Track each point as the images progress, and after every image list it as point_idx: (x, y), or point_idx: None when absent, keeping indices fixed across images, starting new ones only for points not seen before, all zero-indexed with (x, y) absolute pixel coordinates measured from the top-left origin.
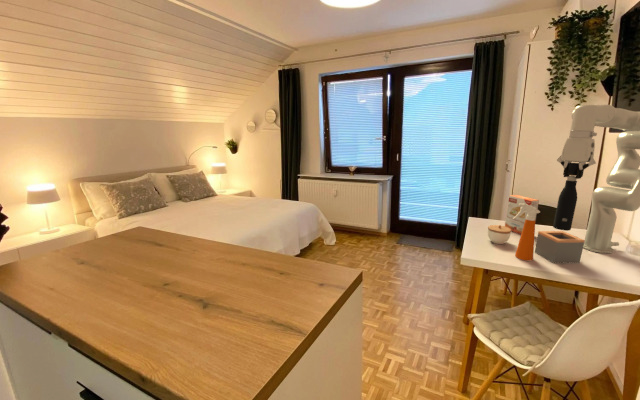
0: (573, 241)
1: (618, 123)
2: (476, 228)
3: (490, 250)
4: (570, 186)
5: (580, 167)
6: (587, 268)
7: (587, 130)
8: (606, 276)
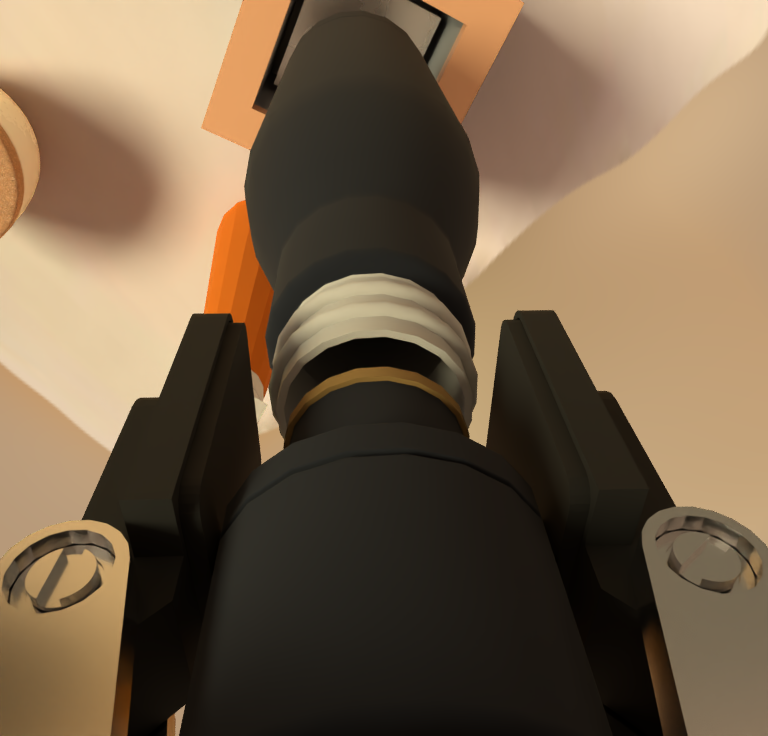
0: (470, 100)
1: None
2: None
3: (112, 317)
4: (404, 358)
5: (635, 732)
6: (546, 41)
7: None
8: (650, 69)
